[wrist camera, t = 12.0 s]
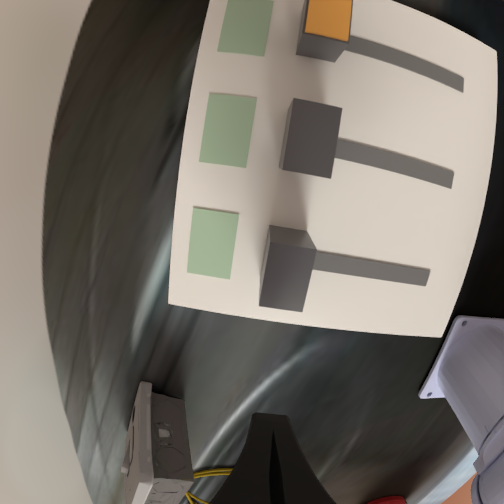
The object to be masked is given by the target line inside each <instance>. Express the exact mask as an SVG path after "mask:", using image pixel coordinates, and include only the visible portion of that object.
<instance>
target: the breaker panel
mask: <svg viewBox="0 0 504 504" xmlns="http://www.w3.org/2000/svg"><path fill="white" fill-rule="evenodd" d="M303 4H304V0H210V2H209V6H208V11H207V15H206V19H205V23H204V28H203V32H202V37H201V42H200V46H199V51H198V56H197V61H196V66H195V71H194V77H193V82H192V88H191V93H190V99H189V105H188V111H187V118H186V124H185V131H184V138H183V145H182V152H181V160H180V168H179V176H178V184H177V193H176V203H175V213H174V224H173V236H172V248H171V262H170V279H169V299H168V304H173V305H178V306H184V307H189V308H194V309H200V310H206V311H212V312H217V313H223V314H230V315H236V316H242V317H249V318H255V319H262V320H269V321H276V322H283V323H291V324H298V325H306V326H315V327H323V328H332V329H341V330H351V331H361V332H372V333H383V334H396V335H410V336H425V337H442V335H443V333H444V330H445V328H446V326H447V323H448V321H449V318H450V316H451V313H452V311H453V308H454V306H455V303H456V300H457V298H458V295H459V292H460V289H461V286H462V283H463V280H464V277H465V274H466V271H467V268H468V265H469V262H470V258H471V255H472V252H473V248H474V245H475V241H476V237H477V233H478V229H479V225H480V221H481V217H482V212H483V208H484V203H485V198H486V193H487V188H488V182H489V176H490V170H491V163H492V156H493V147H494V138H495V127H496V113H497V51H495V50H494V49H492V48H490V47H489V46H487V45H485V44H484V43H482V42H480V41H479V40H477V39H475V38H473V37H471V36H470V35H468V34H466V33H464V32H462V31H460V30H458V29H456V28H455V27H453V26H451V25H449V24H446V23H444V22H442V21H440V20H438V19H436V18H434V17H431V16H429V15H427V14H425V13H422V12H420V11H418V10H415V9H413V8H410V7H408V6H405V5H402V4H400V3H397V2H394V1H392V0H353V9H352V20H351V31H350V41H349V45H348V46H347V47H346V49H345V50H344V51H343V53H342V54H341V55H340V56H339V58H338V59H337V60H336V62H335V63H334V62H329V61H325V60H320V59H316V58H311V57H306V56H300V55H296V49H297V42H298V35H299V29H300V22H301V15H302V8H303Z"/></svg>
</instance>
